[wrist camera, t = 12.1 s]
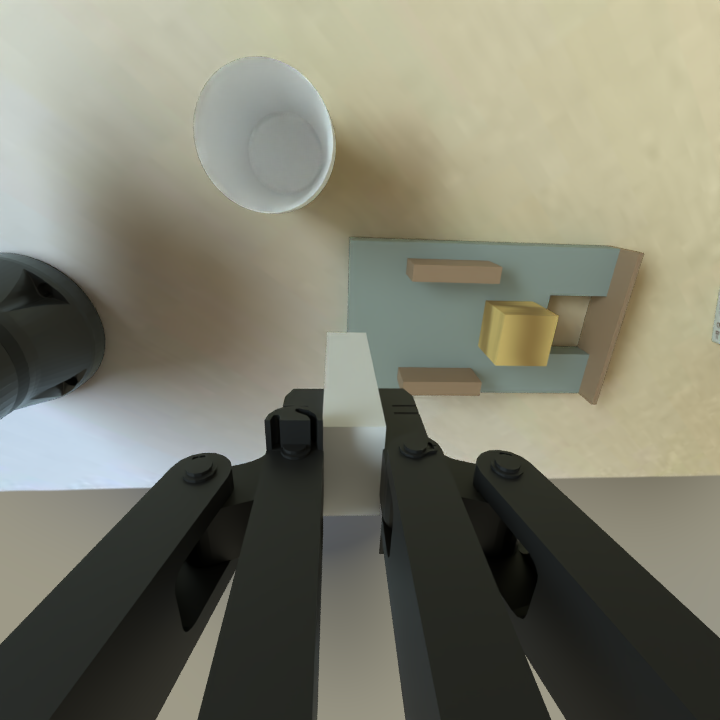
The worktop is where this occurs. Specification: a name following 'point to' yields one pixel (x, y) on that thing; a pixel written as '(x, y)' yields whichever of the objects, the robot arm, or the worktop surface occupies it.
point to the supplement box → (717, 323)
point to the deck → (482, 311)
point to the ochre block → (517, 333)
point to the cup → (264, 135)
